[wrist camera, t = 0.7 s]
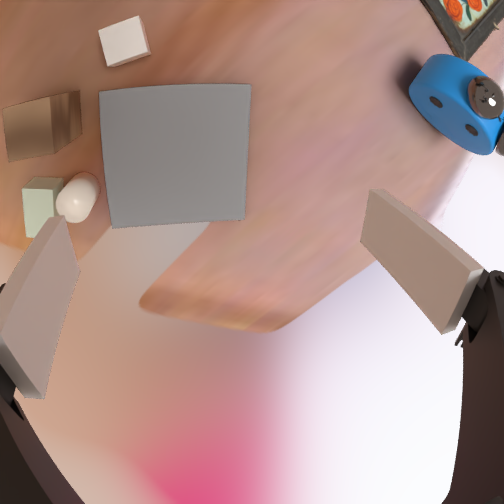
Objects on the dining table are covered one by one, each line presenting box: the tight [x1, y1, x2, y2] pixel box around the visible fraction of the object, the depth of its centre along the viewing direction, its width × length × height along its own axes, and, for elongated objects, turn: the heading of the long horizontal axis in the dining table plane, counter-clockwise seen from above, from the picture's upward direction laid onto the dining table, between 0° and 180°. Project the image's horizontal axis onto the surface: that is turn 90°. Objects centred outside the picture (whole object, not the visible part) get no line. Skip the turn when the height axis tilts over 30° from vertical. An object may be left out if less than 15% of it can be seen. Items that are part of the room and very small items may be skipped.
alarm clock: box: [409, 54, 504, 156], centre depth 29 cm, size 13×6×15 cm, turn 56°
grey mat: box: [99, 84, 251, 228], centre depth 33 cm, size 16×16×1 cm
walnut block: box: [2, 90, 82, 162], centre depth 24 cm, size 5×5×9 cm
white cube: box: [98, 16, 151, 67], centre depth 24 cm, size 4×4×4 cm
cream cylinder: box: [56, 172, 100, 223], centre depth 31 cm, size 4×4×5 cm
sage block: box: [22, 177, 64, 238], centre depth 31 cm, size 6×4×4 cm, turn 168°
